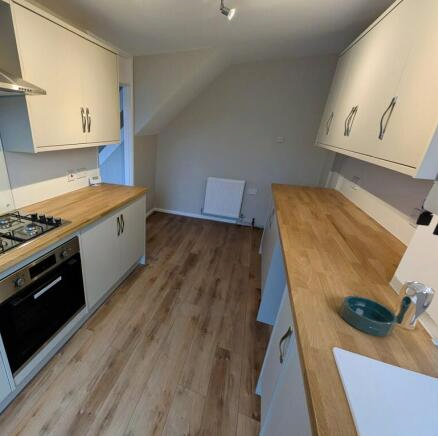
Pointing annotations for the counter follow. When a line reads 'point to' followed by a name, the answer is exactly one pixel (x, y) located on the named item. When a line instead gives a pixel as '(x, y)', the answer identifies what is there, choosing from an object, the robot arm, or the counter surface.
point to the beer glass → (412, 303)
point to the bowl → (368, 315)
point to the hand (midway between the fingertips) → (430, 230)
